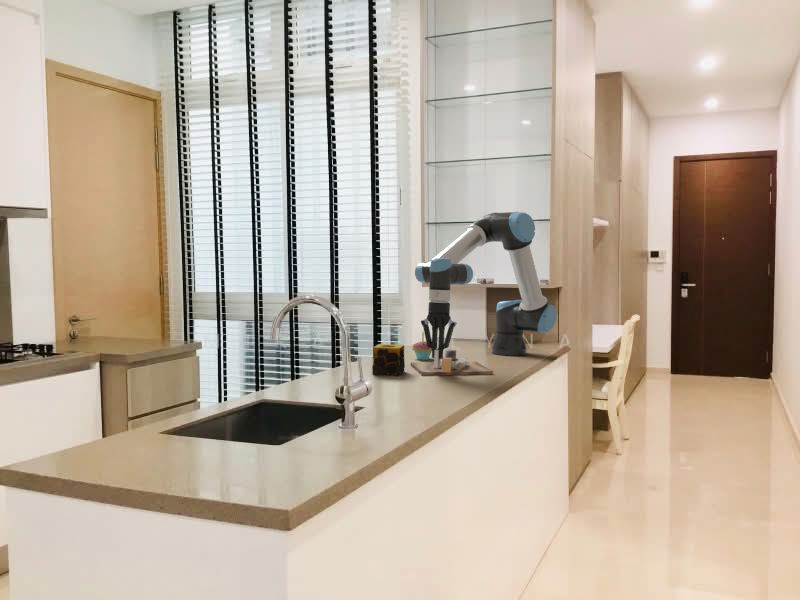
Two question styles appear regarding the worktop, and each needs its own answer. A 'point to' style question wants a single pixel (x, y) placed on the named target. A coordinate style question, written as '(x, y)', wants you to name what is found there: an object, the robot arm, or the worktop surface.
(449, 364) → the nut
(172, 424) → the worktop surface
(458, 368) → the dowel
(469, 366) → the base board
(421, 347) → the cupcake
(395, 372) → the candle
